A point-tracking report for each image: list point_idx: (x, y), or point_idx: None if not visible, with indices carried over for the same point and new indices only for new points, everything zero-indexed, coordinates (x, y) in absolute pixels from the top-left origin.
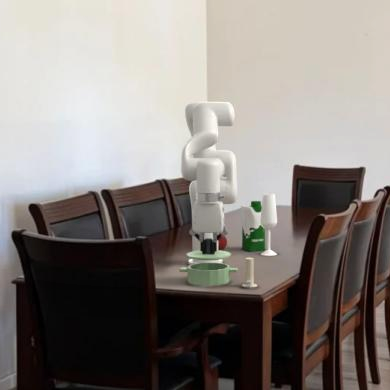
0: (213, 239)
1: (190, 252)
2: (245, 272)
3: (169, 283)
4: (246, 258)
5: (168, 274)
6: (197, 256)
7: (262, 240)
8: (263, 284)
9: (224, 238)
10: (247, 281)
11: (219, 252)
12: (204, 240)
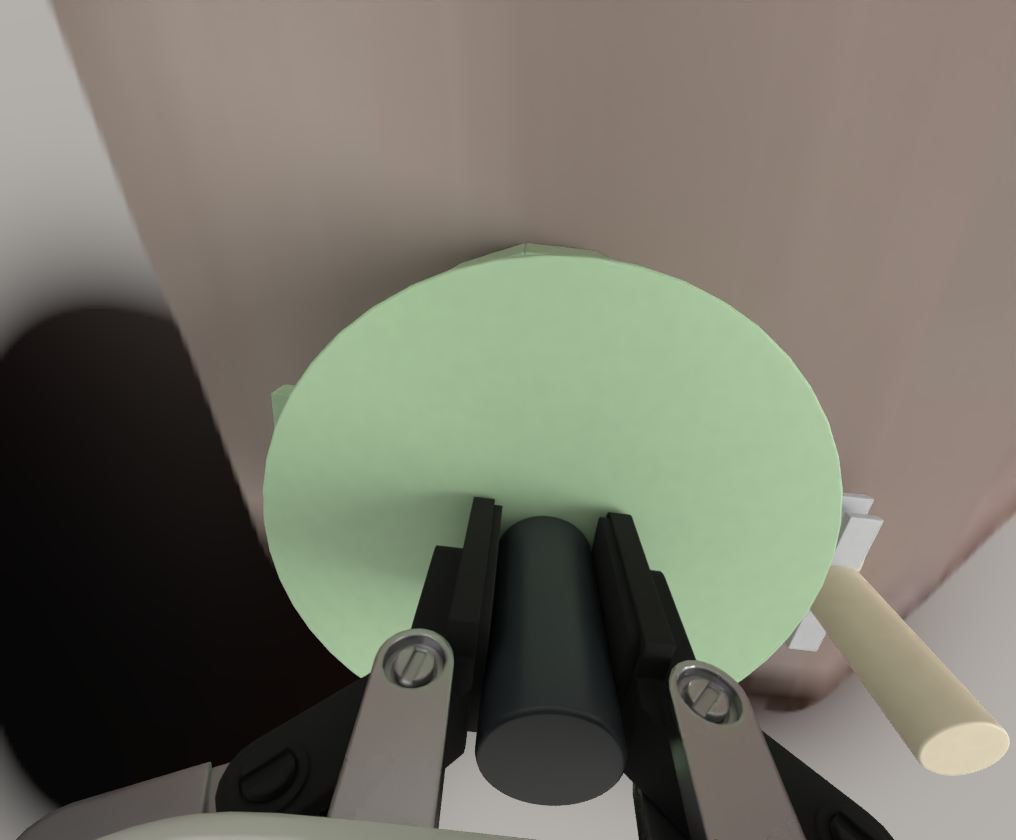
0: (645, 820)
1: (289, 451)
2: (833, 632)
3: (257, 399)
4: (931, 750)
5: (121, 7)
6: None
7: None
8: (926, 480)
9: None
10: (801, 635)
11: (693, 482)
12: (468, 709)
